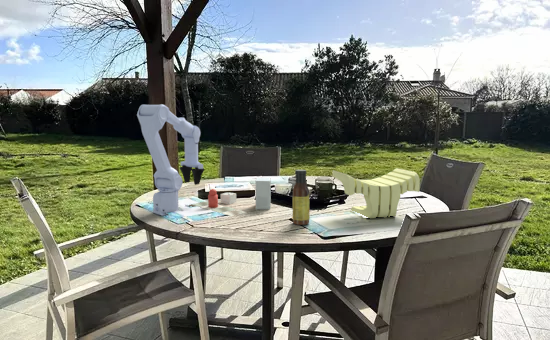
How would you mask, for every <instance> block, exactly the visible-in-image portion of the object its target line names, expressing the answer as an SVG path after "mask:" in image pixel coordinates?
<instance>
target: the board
mask: <svg viewBox="0 0 550 340" xmlns="http://www.w3.org/2000/svg"><path fill="white" fill-rule="evenodd" d="M188 206H192V207H191V208H193V207H200V208H202V209H205V210H209V211H213V212H216V213H220V214H223V215H226V216H229V217H234V216H238V215H242V214H247V213H248V212H247V211H245V210H241V209H237V208H233V207H229V206H225V205H222V204H219V203H218V207H215V208H210V207H208V200H207V201H201V202H196V203H192V204H191V203H190V204H189V205H188Z"/></svg>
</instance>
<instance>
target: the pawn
mask: <svg viewBox="0 0 550 340" xmlns="http://www.w3.org/2000/svg"><path fill="white" fill-rule="evenodd" d="M217 193H218V192H217V190H216V189H214V188H211V189H209V191H208V195H207V202H208V205H207V206H208V207H210V208H215V207H218V204H219V202H218V201H219V198H218V197H219V195H218V194H217Z"/></svg>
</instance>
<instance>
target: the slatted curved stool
mask: <svg viewBox="0 0 550 340" xmlns="http://www.w3.org/2000/svg"><path fill="white" fill-rule="evenodd" d="M332 177H333V178H335V179H337V180H338V181H340V183H342V186H343V190H344V194H345V195H347V196H352V195H355V194H357V195H359V194H360V195H363V198H364V200H365V203H366V204H365V205H360V206H357V205H355V206H351V208H350V210H352V211H355V212H357V213H360V214H362V215H364V216H366V217H368V218H370V219H377V218H376V217H384V218H391V217H390V216H395V217H396V216H397V212H398V211H397V210H398V205H399V202H400V200H401V195H404V194H405V193H408V192H416V193H417V192H418V193H419V192H420V182H421V179H420V176H419V174H418V173H417V172H415V171H411V170H407V169H403V168H399V167H397V168H394V169H393V170H392V171H390V172H388V173H386V174H384V175H381V176H380V177H375V178H371V179H357V178H355V177H353V176H351V175H349V174H347V173H344V172H340V171H337V170H334V169H333V170H332ZM387 216H388V217H387Z"/></svg>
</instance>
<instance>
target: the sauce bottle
mask: <svg viewBox="0 0 550 340" xmlns="http://www.w3.org/2000/svg"><path fill="white" fill-rule="evenodd" d="M294 172H295V183H294V185H293V187H292V222H293V224H294V225H297V226H306V225H309V223H310V219H311V218H310V206H311V205H310V190H309V186H308V183H307V170H306V169H295V170H294Z"/></svg>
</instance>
